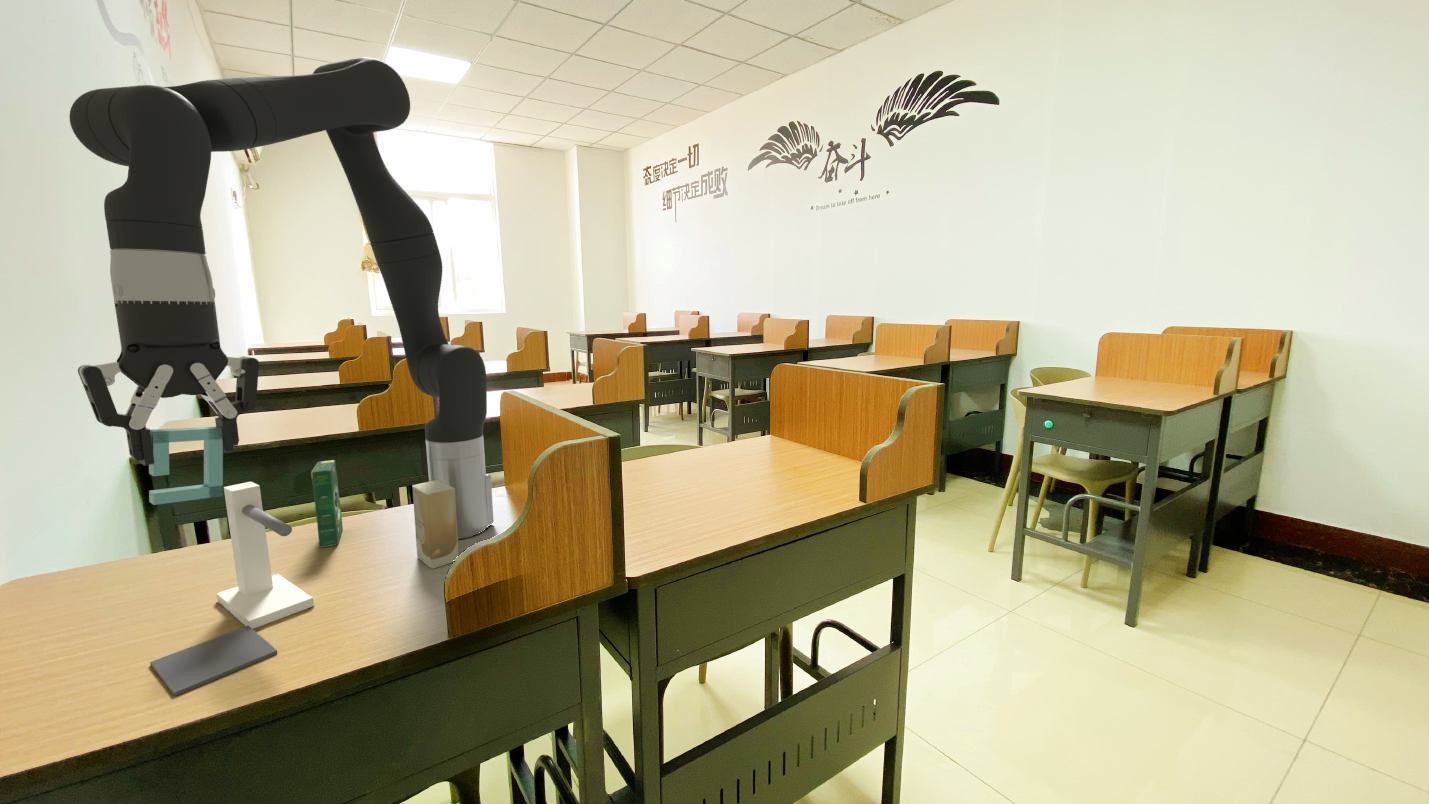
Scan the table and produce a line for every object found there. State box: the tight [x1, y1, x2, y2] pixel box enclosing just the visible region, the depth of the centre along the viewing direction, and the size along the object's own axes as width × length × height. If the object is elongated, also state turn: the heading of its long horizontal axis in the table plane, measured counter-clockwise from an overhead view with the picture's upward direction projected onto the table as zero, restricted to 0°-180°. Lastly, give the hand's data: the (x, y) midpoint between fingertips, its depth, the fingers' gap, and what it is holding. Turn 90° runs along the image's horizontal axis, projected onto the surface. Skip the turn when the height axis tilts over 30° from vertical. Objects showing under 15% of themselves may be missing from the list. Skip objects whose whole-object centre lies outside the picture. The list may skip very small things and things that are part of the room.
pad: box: [149, 626, 278, 697], centre depth 66 cm, size 9×9×1 cm
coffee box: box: [310, 459, 344, 548], centre depth 98 cm, size 8×3×13 cm, turn 28°
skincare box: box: [411, 480, 460, 570], centre depth 90 cm, size 6×4×12 cm
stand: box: [216, 481, 315, 630], centre depth 75 cm, size 7×16×16 cm, turn 55°
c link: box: [148, 425, 224, 506], centre depth 61 cm, size 6×2×8 cm, turn 146°
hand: (188, 456), depth 61 cm, fingers closed on c link, 6 cm apart
